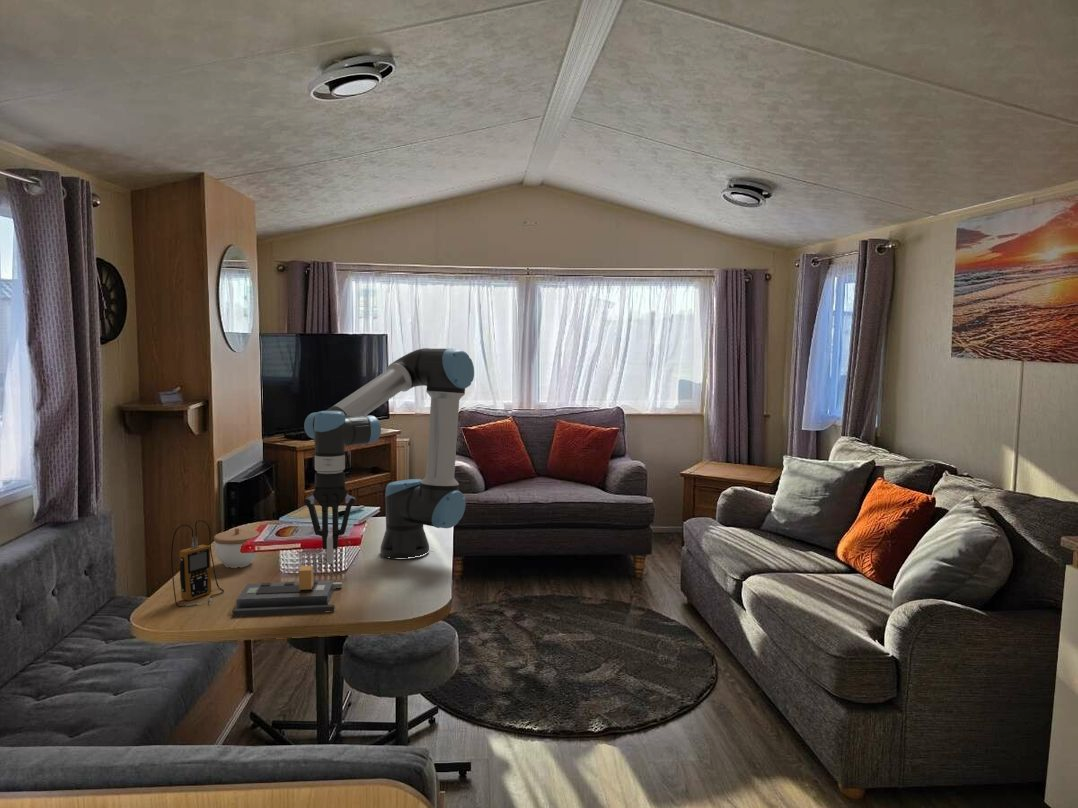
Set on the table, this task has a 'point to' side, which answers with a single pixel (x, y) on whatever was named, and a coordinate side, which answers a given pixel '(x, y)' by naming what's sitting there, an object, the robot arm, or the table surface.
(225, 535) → the lidded bowl
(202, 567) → the multimeter
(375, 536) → the table surface
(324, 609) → the dark grey bar
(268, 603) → the grey control panel
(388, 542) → the robot arm
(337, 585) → the light grey rod
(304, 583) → the orange rectangular block
